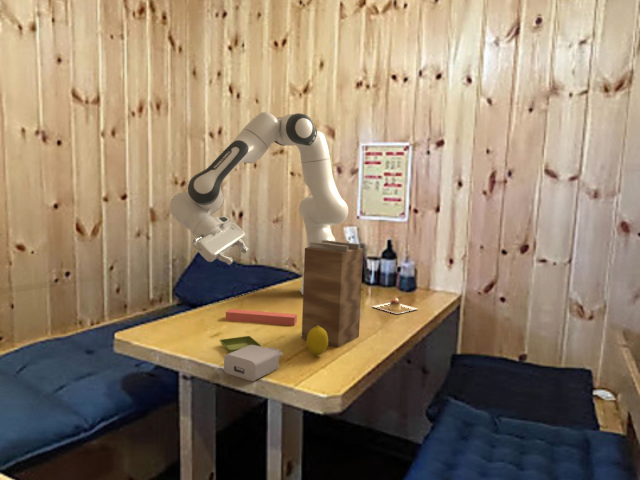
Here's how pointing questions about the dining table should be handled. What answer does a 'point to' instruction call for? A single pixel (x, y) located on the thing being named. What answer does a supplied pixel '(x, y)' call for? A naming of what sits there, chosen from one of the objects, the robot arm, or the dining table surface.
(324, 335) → the lemon
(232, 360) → the charger
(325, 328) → the wooden knife block
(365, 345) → the dining table surface
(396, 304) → the dessert
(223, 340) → the green square tray
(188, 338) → the dining table surface
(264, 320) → the salmon red bar
